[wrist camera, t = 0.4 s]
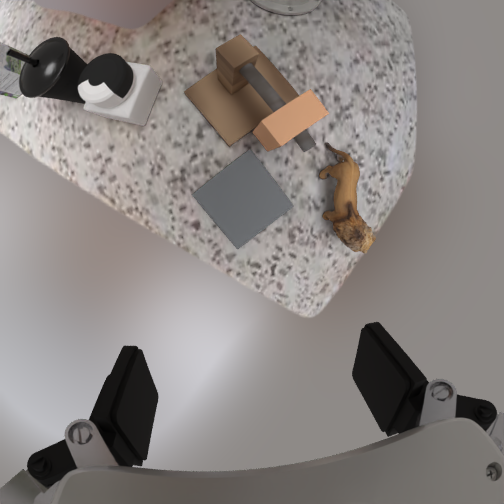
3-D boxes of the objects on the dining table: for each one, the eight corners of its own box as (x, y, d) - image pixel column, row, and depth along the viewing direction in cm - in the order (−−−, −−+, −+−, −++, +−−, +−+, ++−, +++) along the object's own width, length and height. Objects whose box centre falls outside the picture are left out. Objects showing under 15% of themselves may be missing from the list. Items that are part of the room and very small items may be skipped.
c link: (291, 105, 29) (310, 89, 22) (305, 124, 30) (328, 113, 23) (252, 132, 30) (261, 121, 23) (267, 151, 31) (281, 146, 23)
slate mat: (250, 149, 35) (250, 148, 34) (292, 205, 38) (293, 206, 37) (192, 194, 36) (192, 194, 36) (237, 248, 39) (237, 249, 39)
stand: (254, 49, 30) (266, 8, 19) (320, 129, 35) (358, 117, 24) (185, 94, 32) (169, 64, 20) (254, 177, 36) (267, 182, 25)
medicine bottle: (121, 74, 29) (87, 45, 18) (163, 81, 31) (140, 49, 19) (104, 117, 31) (61, 103, 20) (145, 126, 33) (112, 111, 21)
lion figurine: (355, 234, 40) (385, 251, 32) (325, 242, 40) (349, 262, 32) (340, 140, 36) (370, 135, 27) (306, 145, 36) (330, 140, 27)
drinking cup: (93, 120, 31) (4, 97, 12) (62, 102, 29) (-23, 80, 10) (121, 76, 29) (51, 22, 10) (88, 61, 28) (16, 15, 9)
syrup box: (15, 75, 25) (-33, 62, 11) (37, 57, 25) (-11, 37, 11) (16, 98, 27) (-36, 89, 13) (38, 80, 27) (-14, 63, 13)
